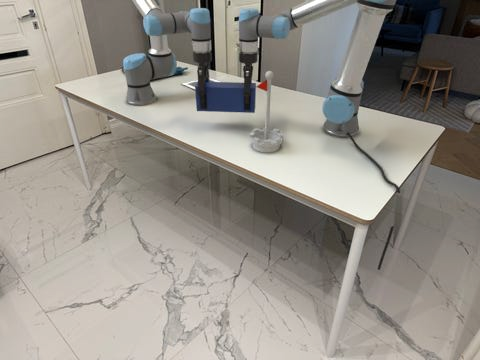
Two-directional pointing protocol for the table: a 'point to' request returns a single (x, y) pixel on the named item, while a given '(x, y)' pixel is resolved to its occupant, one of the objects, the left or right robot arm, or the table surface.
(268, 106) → the flag stand
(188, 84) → the tablet
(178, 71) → the submachine gun
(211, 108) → the box
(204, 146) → the table surface
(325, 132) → the right robot arm
